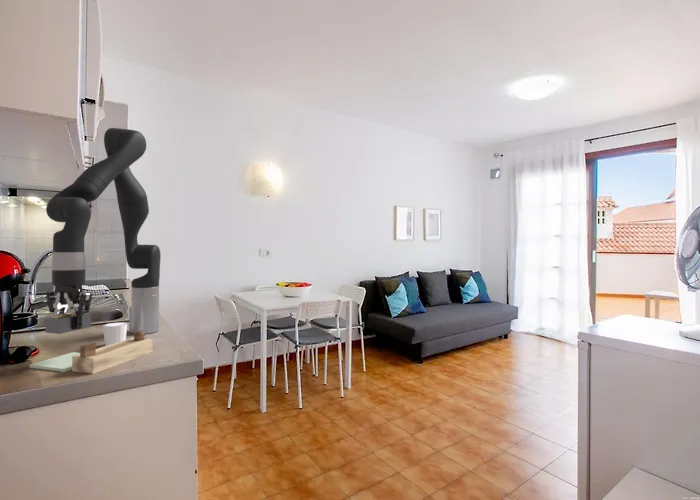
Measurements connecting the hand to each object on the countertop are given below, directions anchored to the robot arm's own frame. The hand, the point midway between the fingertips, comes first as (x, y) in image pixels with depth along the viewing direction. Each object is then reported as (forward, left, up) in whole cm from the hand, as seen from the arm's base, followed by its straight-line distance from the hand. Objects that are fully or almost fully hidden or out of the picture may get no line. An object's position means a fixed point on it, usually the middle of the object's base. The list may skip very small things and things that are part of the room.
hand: (69, 328), depth 103 cm
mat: (0, 0, -10) cm, 10 cm away
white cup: (-3, +18, -10) cm, 21 cm away
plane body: (+11, +5, -10) cm, 15 cm away
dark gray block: (0, 0, 0) cm, 0 cm away
